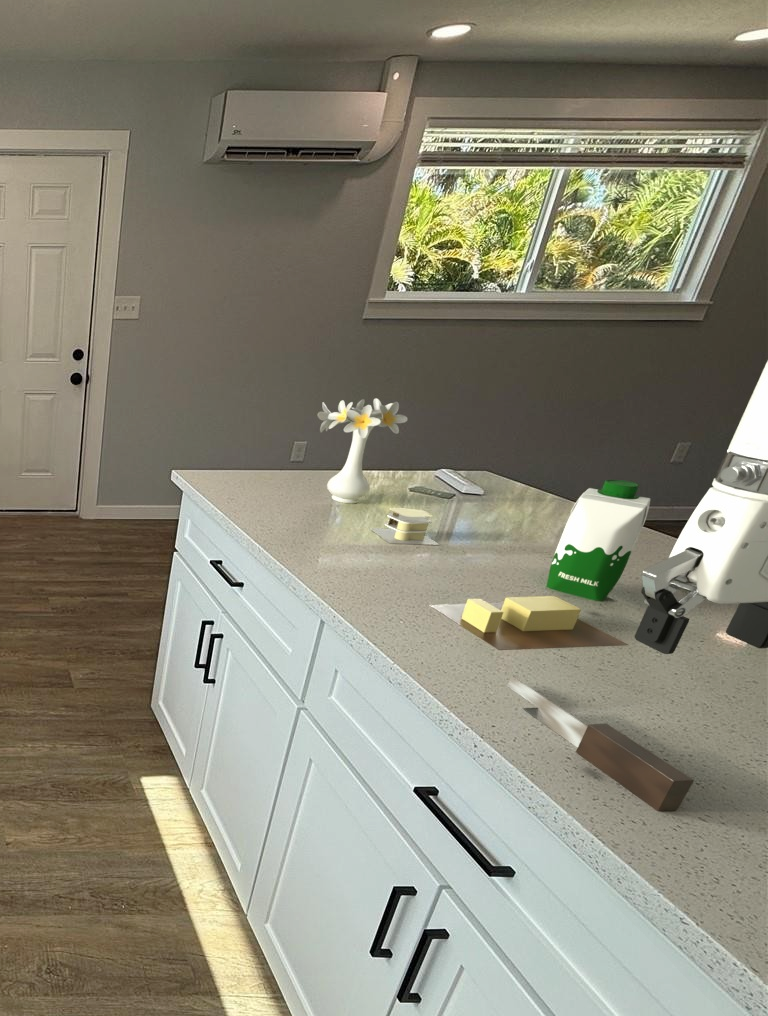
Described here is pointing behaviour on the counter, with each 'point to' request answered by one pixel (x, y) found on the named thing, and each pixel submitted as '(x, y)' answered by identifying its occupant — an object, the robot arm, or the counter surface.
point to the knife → (612, 753)
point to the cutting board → (531, 633)
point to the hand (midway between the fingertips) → (699, 643)
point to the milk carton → (598, 540)
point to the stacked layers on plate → (406, 527)
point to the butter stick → (539, 613)
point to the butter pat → (482, 615)
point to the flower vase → (357, 443)
